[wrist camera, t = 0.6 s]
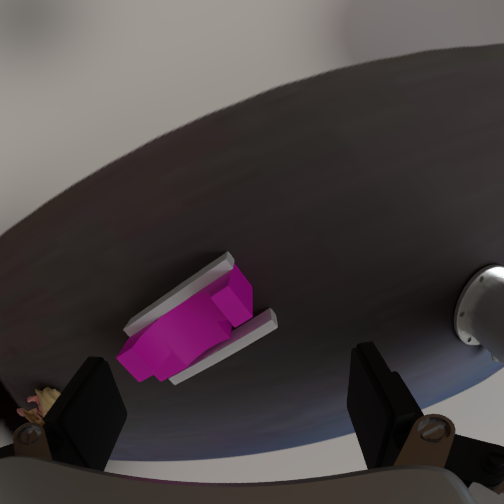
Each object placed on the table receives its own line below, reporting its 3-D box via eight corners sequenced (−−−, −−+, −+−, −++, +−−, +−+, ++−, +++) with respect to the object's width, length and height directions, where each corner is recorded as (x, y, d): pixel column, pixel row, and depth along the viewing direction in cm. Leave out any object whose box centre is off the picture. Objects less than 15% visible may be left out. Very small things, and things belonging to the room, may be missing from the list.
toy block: (168, 360, 39) (154, 397, 32) (137, 325, 37) (115, 357, 30) (264, 303, 37) (268, 336, 29) (233, 260, 35) (228, 285, 28)
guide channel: (276, 315, 37) (277, 327, 34) (179, 371, 39) (174, 385, 36) (228, 251, 35) (225, 259, 32) (131, 318, 37) (123, 329, 34)
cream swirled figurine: (37, 366, 40) (51, 402, 34) (78, 391, 47) (98, 424, 41) (12, 401, 37) (23, 440, 31) (54, 422, 44) (71, 458, 38)
